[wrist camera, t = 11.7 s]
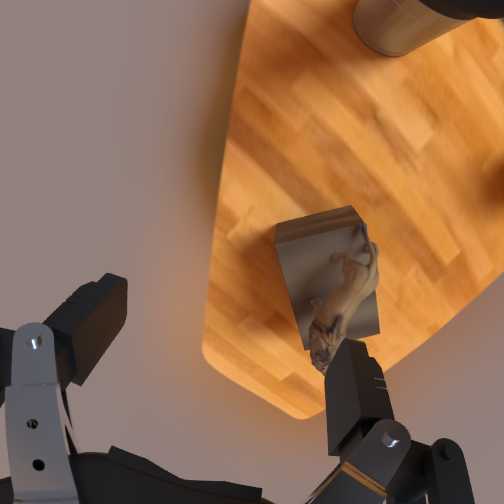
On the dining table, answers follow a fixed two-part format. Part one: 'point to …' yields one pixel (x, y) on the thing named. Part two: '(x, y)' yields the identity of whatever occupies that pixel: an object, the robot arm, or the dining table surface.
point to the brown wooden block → (323, 266)
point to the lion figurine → (341, 304)
